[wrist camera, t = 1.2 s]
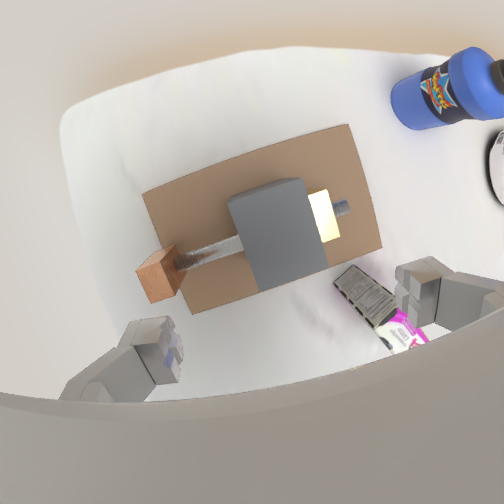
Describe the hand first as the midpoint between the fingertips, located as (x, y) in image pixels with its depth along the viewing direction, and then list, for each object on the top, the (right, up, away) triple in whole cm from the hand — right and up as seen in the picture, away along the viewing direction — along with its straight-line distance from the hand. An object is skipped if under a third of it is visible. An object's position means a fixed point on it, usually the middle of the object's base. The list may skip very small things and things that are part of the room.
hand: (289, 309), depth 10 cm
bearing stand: (+1, +7, +33) cm, 33 cm away
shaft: (-2, +4, +27) cm, 27 cm away
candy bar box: (+17, -5, +37) cm, 41 cm away
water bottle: (+26, +27, +29) cm, 47 cm away
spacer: (+7, +7, +27) cm, 29 cm away
